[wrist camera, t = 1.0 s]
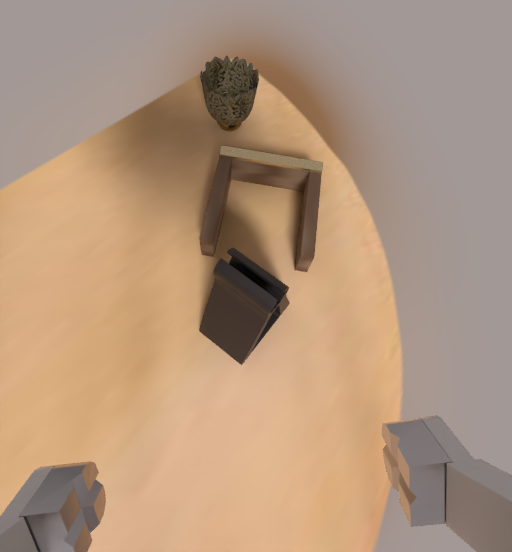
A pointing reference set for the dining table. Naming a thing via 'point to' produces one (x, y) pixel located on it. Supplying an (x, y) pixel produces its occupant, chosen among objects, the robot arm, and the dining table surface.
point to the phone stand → (242, 305)
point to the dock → (269, 173)
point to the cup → (229, 90)
